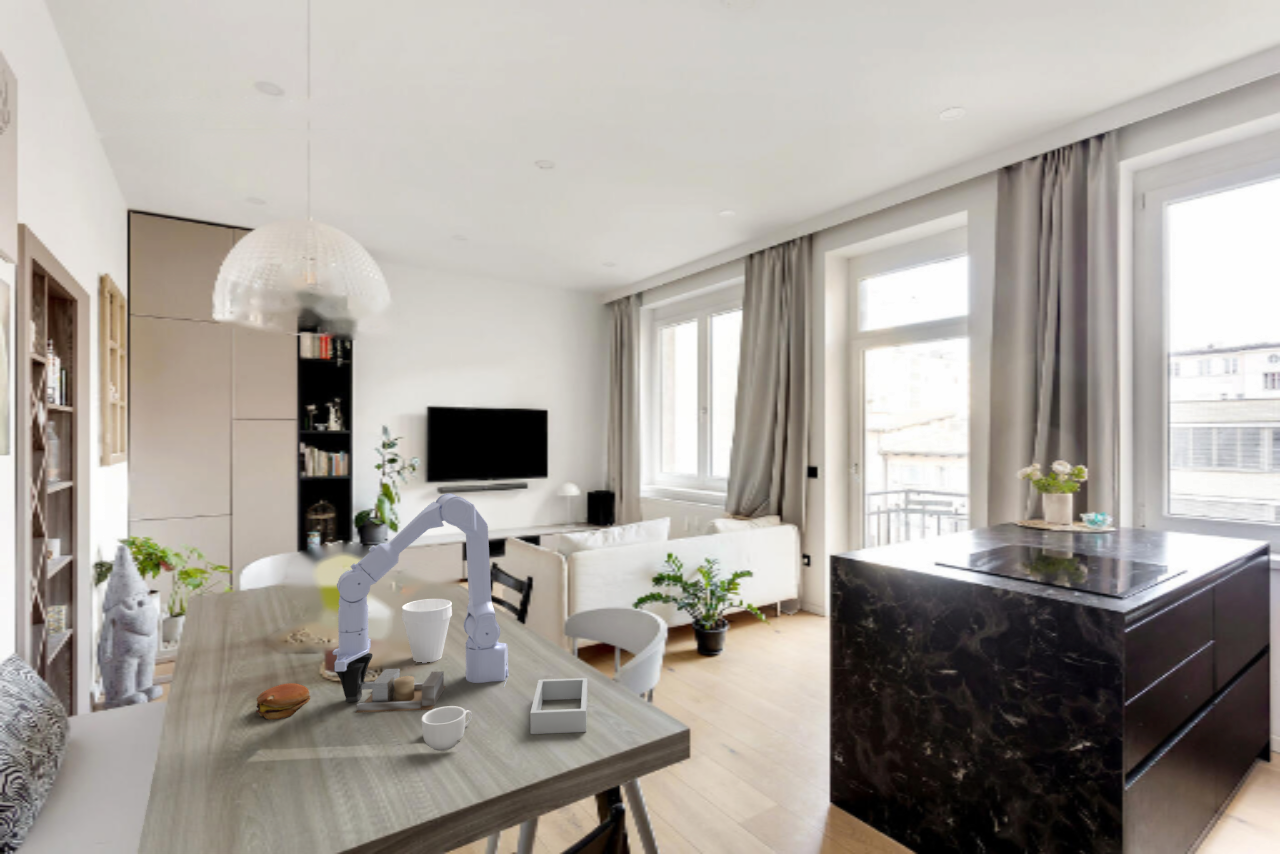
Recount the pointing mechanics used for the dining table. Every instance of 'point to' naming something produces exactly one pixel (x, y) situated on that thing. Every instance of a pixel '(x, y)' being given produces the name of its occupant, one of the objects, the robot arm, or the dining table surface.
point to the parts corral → (564, 717)
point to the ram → (379, 686)
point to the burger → (282, 700)
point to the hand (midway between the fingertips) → (353, 693)
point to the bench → (423, 700)
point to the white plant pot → (427, 627)
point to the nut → (404, 688)
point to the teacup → (444, 726)
